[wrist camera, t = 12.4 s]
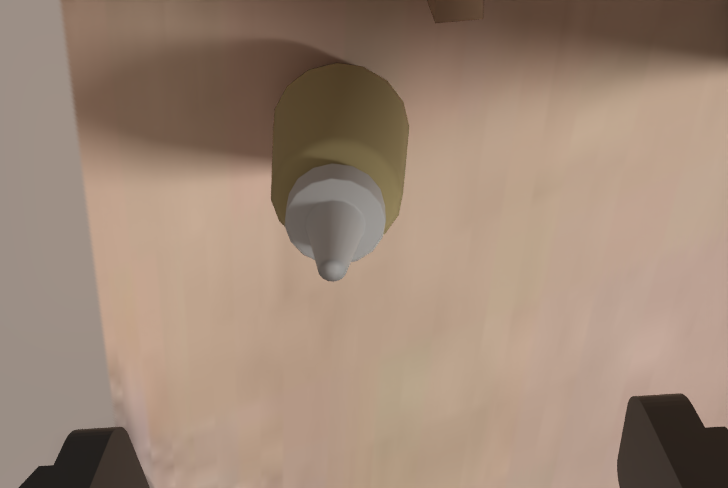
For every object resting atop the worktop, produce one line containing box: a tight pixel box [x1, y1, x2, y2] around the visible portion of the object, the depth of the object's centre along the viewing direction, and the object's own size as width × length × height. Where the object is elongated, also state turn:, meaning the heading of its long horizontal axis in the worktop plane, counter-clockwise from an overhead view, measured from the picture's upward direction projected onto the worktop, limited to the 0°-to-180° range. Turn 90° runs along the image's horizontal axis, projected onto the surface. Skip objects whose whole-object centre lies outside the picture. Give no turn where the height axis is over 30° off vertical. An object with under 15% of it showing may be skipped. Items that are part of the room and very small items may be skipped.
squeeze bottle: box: [271, 63, 409, 281], centre depth 35 cm, size 8×8×18 cm
